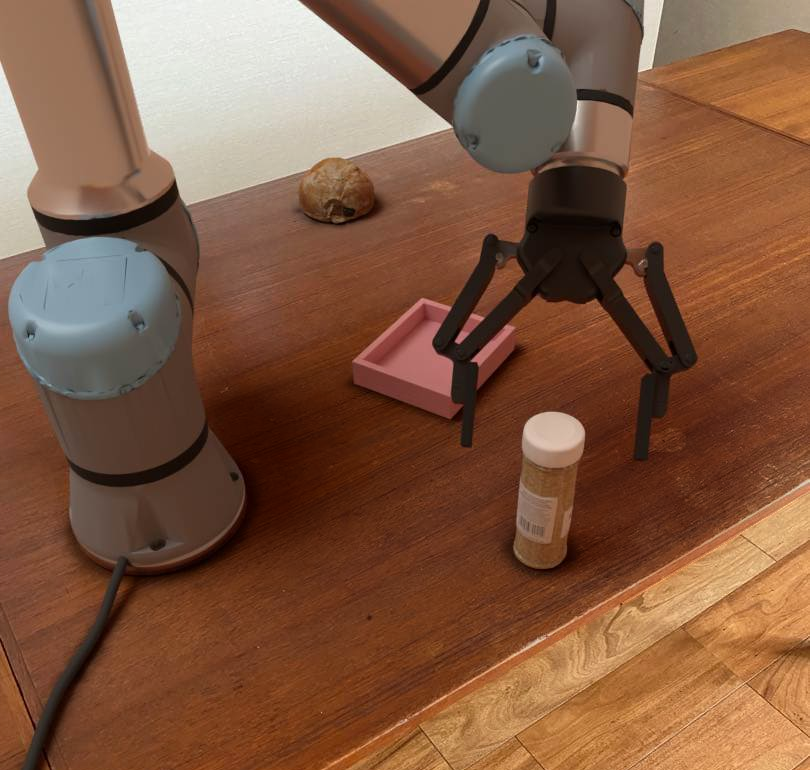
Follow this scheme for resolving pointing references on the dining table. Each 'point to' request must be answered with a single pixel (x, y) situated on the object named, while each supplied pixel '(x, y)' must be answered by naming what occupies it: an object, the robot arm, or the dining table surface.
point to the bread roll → (336, 191)
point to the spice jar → (547, 488)
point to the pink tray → (424, 359)
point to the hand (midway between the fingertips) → (551, 453)
